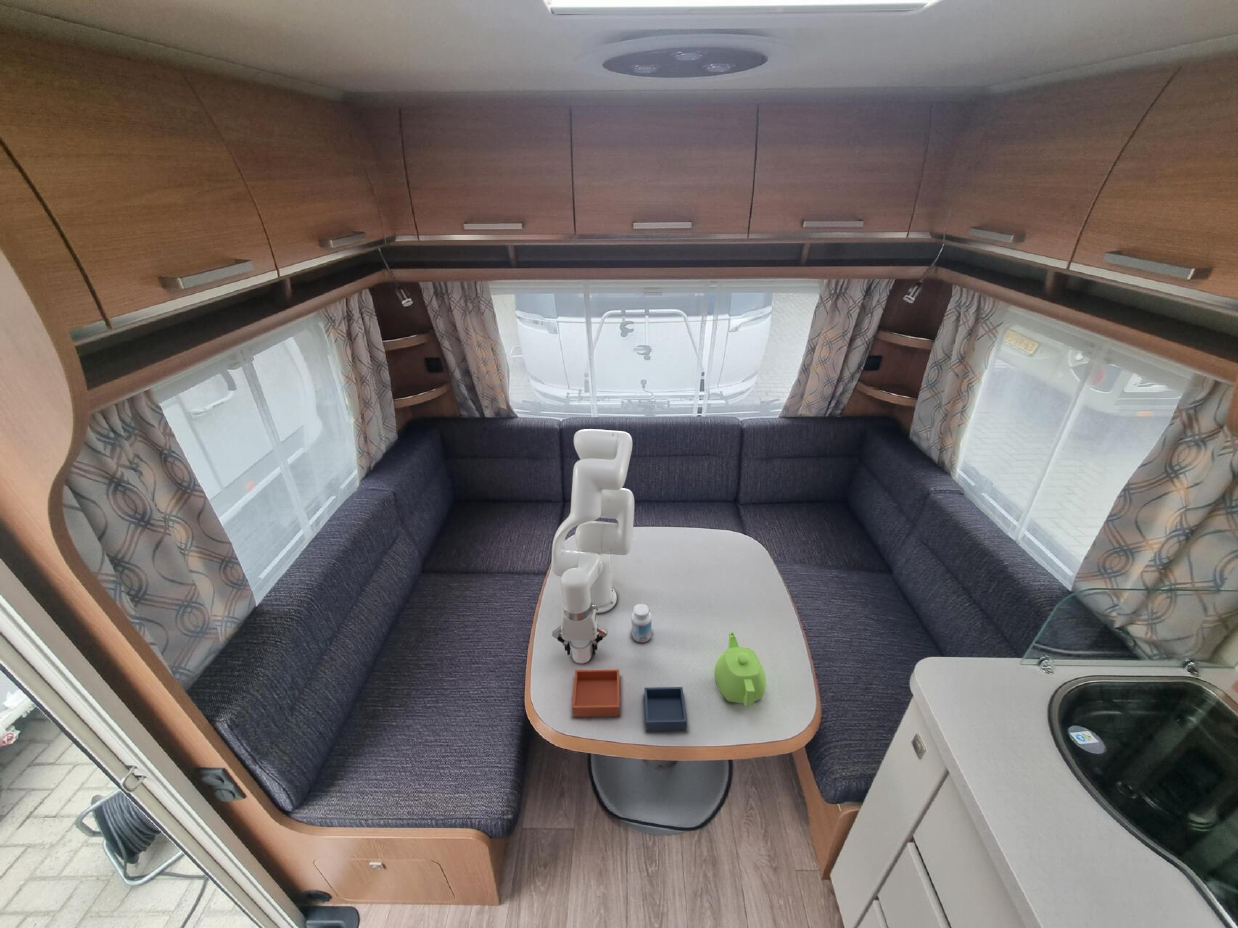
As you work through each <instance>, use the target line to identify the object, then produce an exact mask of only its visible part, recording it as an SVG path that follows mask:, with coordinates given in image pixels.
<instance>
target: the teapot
mask: <svg viewBox="0 0 1238 928" xmlns="http://www.w3.org/2000/svg"><path fill="white" fill-rule="evenodd" d="M738 643H739V642H738V641H737V638H736V633H735V631H734V632H732V631H731V632H730V631H729V634H728V649H726V650H724V651H723V652H722V653H721V654H720V655H719V657H718V658H717V660H716V663H715V666H714V681H715V685H716V686H717V689H718V690H719V692H720V694H721V695H722V696H723V697H724V698H725V700H726V701H727V702H728V703H729V702H730V703H736V704H743V705H744V706H745V707H746V708H754V707H755V702H757V701H760V700H761V699H762V698H763V697H764V695H765V694H766V688H767V679H766V673H765V669H764V665H763V664H762V662H761V661H760V658H759V657H758V655H757V654H756V652H755V651H754V650H753V649H751V648H749V647H747V646H740V645H739V644H738Z"/></svg>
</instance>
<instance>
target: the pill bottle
mask: <svg viewBox="0 0 1238 928" xmlns="http://www.w3.org/2000/svg"><path fill="white" fill-rule="evenodd" d="M632 611H633V612H632V614H631V637H632V638H633V640H634V641H636V642H638V643H645V642H648V641H649V640H650V639H651V637H652V614H651V612H650V607H649V606H648V605H646V604H645V603H638V604H636V605H634V607H633V610H632Z"/></svg>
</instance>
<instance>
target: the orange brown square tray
mask: <svg viewBox="0 0 1238 928" xmlns="http://www.w3.org/2000/svg"><path fill="white" fill-rule="evenodd" d="M620 708H621V707H620V669H619V668H615V669H614V668H613V669H610V668H609V669H575V671H574V683H573V695H572V706H571V710H572V717H573V718H581V717H582V718H583V717H584V718H586V717H587V718H588V717H590V718H591V717H620V716H621V715H620Z"/></svg>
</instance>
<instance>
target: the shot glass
mask: <svg viewBox="0 0 1238 928" xmlns="http://www.w3.org/2000/svg"><path fill="white" fill-rule="evenodd" d="M569 645H570V654H571V656H572V659H573V661H574V662H575V663H577V664H584V663H588V662H589V661H590V660H591V658H592V642H591V641H590V640H587V641H569Z"/></svg>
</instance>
